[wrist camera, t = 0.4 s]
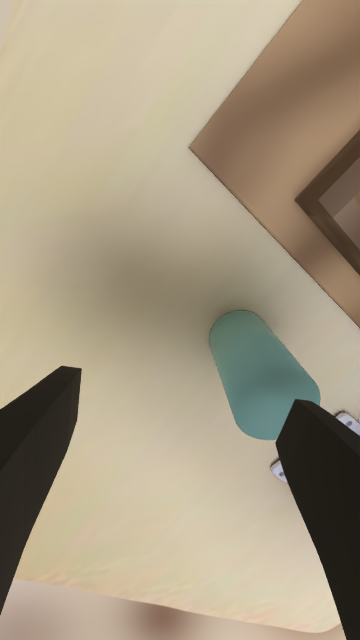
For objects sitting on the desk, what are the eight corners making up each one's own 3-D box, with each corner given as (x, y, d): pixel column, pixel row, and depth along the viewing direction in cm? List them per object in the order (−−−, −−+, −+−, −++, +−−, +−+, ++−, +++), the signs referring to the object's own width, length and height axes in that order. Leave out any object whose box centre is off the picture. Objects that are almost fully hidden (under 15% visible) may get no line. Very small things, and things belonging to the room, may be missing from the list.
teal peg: (278, 334, 19) (337, 401, 13) (237, 372, 20) (272, 452, 14) (239, 298, 18) (282, 352, 12) (196, 340, 19) (215, 412, 13)
